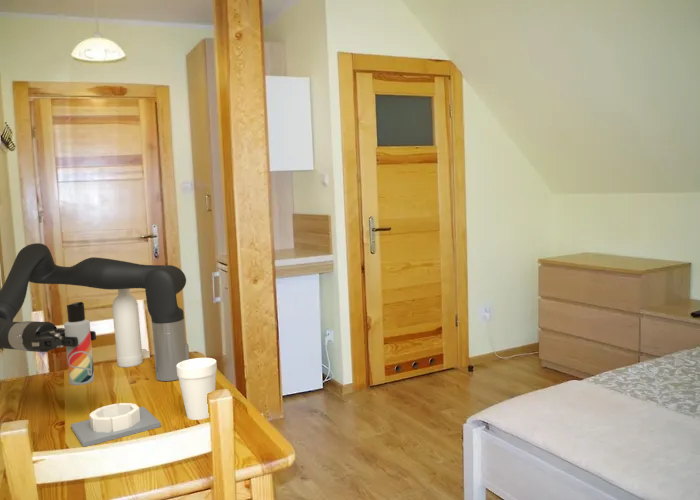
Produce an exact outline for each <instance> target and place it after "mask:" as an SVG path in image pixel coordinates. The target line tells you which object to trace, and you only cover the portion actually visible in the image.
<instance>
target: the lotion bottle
mask: <svg viewBox="0 0 700 500" xmlns="http://www.w3.org/2000/svg"><path fill="white" fill-rule="evenodd" d="M66 310H67V311H66V313H67V321H65V323H63V324H64V325H63V326H64V327H63V328H64V329H65V337H77V338H78V346H76V347H71V346H65V348H66V349H65V350H66V352H65V353H66V361H67V370H68V383H69V385H71V386H82V385H84V386H85V385H88V384H90V383H92V382H94V381H95V369H94V358H93V346H92V340H91V332H90V331H91V325H90V320H89V319H86V314H85V313H86V311H85V303H84V302H83V301H79V302H74V303H73V302H72V303H70V304H66Z"/></svg>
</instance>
